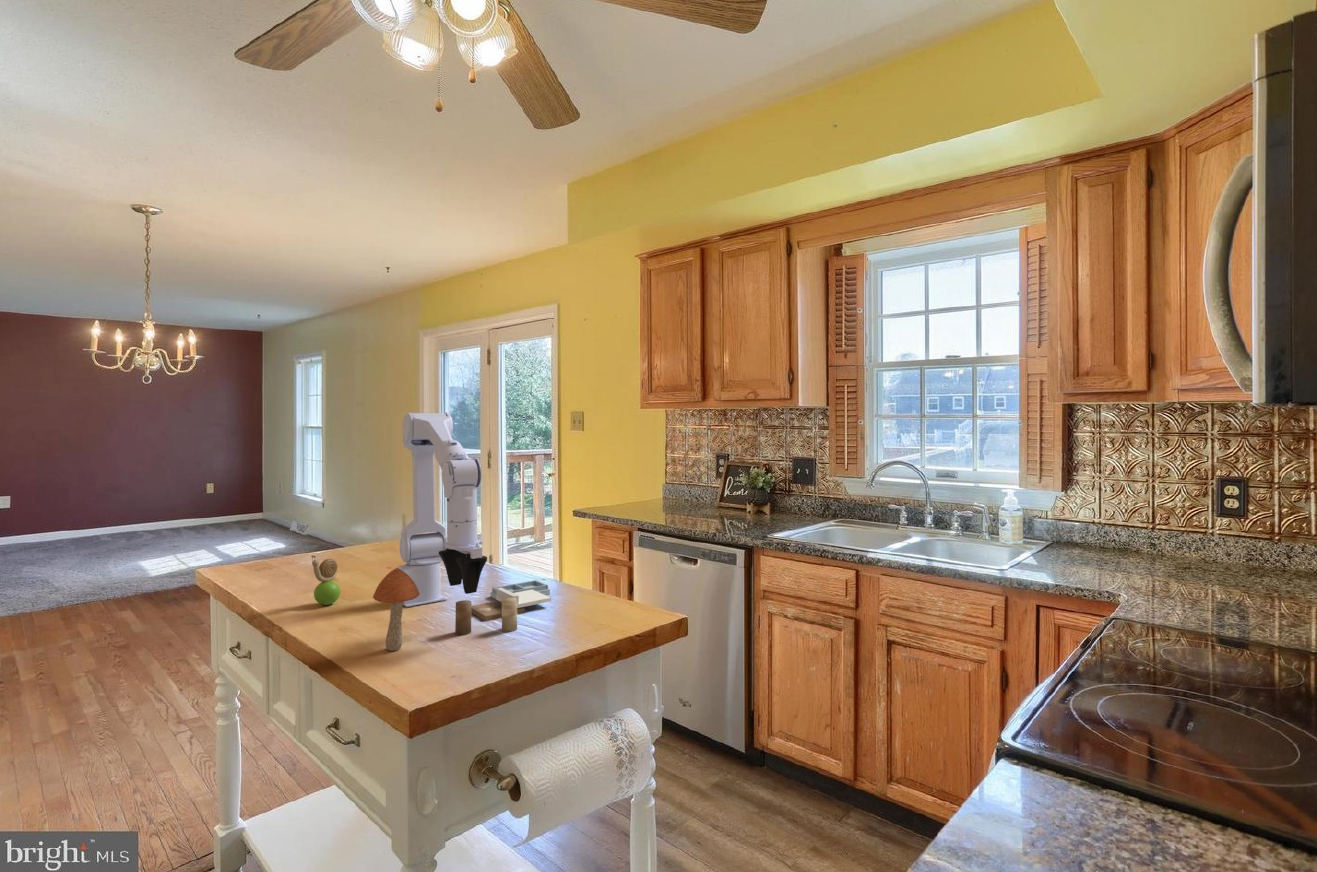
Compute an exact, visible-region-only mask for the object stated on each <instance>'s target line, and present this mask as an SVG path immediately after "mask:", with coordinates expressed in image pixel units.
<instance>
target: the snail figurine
mask: <svg viewBox="0 0 1317 872" xmlns="http://www.w3.org/2000/svg"><path fill="white" fill-rule="evenodd" d="M316 558H317V555H313V554H312V555H311V560H312V562H311V565H312V567H313V573H314V576H315V578H316V580H317V581H319V583H318V584H317V586H315V588H314V591H313V597H314V600H315V601H316V602H317V603H318V604H320V605H322V606H330V605H332V604H334V603H336V602H337V601H338V599H339V598H340V596H341V591H342V590H341V587H340V585H339V584H338V583H337V582H336V581H334V579H335V578H336V576H337V572H338V563H337V562H336V561H335V560H334V559H333V558H327V559H324V560H323V561H322V562H321V563H319V560H318V559H316Z"/></svg>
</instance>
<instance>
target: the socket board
mask: <svg viewBox="0 0 1317 872" xmlns="http://www.w3.org/2000/svg"><path fill="white" fill-rule="evenodd" d="M497 588H503V589H506V590H508V591H510V592H512V593H516V592H521V591H526V590H534V591H537V592H539V593H541V594H544V595H546V596H548V595H550V594H551V590H550V589H551V588H549V585H548V584H546V583H544V582H541V581H539V580H537V579H535V580H529V581H523V582H518V583H513V584H507V585H502V586H501V585H500V586H495V587H492V589H491V591H490V598H492V599H494V600H496V596H497Z"/></svg>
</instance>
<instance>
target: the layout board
mask: <svg viewBox="0 0 1317 872" xmlns="http://www.w3.org/2000/svg"><path fill="white" fill-rule="evenodd" d="M525 613H526V607H521V608H517V615H520V614H525ZM471 614H473V615H475V616H477V617H479V618H480V619H482V620H483V621H484V622H488V621H491V620H492V621H493V620H495V619H496V620H497V619H502V602H500V601H498V600H495V601H491V602H483V603H479V604H475V605H471Z"/></svg>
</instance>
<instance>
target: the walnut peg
mask: <svg viewBox="0 0 1317 872" xmlns="http://www.w3.org/2000/svg"><path fill="white" fill-rule="evenodd" d="M471 606H472V601H471V600H467V599H466V600H464V599H463V600H462V599H461V600H458V601H456V602H455V622H454V623H455V624H454V625H455V628H454V629H455V631H454V632H455V635H458V636H465V635H466V636H467V635H470V634H471V633H472V613H471Z"/></svg>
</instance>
